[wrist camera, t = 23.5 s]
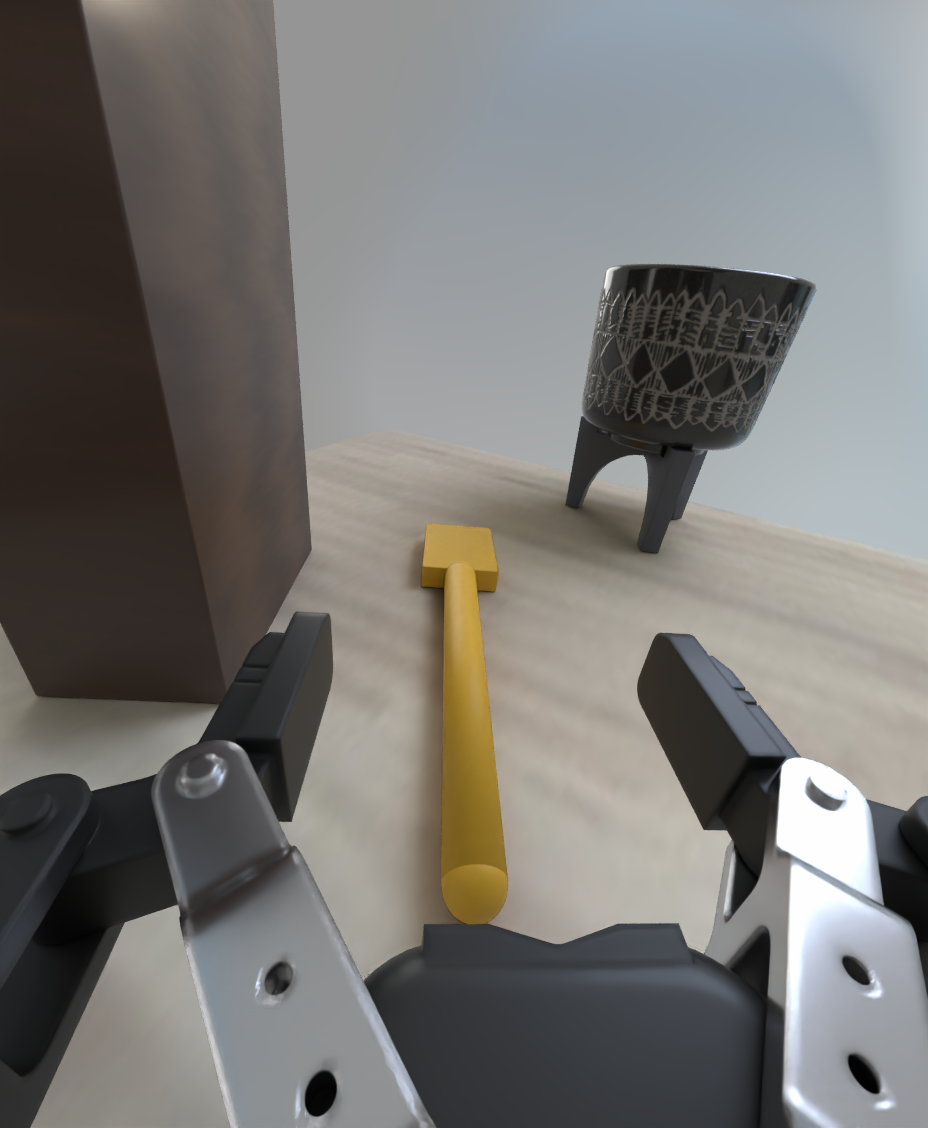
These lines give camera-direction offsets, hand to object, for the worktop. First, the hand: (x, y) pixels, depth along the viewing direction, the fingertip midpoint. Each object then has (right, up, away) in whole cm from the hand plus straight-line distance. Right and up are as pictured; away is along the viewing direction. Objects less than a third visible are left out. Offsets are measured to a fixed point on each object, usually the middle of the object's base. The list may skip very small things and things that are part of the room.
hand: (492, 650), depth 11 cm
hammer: (-1, -2, +11) cm, 11 cm away
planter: (+13, +6, +28) cm, 31 cm away
